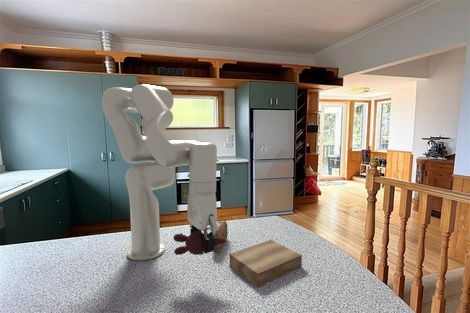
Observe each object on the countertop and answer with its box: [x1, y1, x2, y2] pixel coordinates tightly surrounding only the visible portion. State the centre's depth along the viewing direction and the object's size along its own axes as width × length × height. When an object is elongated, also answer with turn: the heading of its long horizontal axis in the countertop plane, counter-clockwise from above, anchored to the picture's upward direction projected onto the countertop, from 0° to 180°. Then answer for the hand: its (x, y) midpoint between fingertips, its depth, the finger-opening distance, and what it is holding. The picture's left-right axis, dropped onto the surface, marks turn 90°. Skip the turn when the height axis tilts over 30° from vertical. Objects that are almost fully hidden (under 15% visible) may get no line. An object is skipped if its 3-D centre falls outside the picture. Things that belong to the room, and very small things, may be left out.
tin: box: [213, 220, 229, 252], centre depth 95 cm, size 15×3×8 cm, turn 168°
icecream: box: [173, 231, 227, 256], centre depth 73 cm, size 7×7×15 cm
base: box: [229, 239, 303, 288], centre depth 80 cm, size 14×18×4 cm
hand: (201, 245), depth 73 cm, fingers closed on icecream, 7 cm apart
